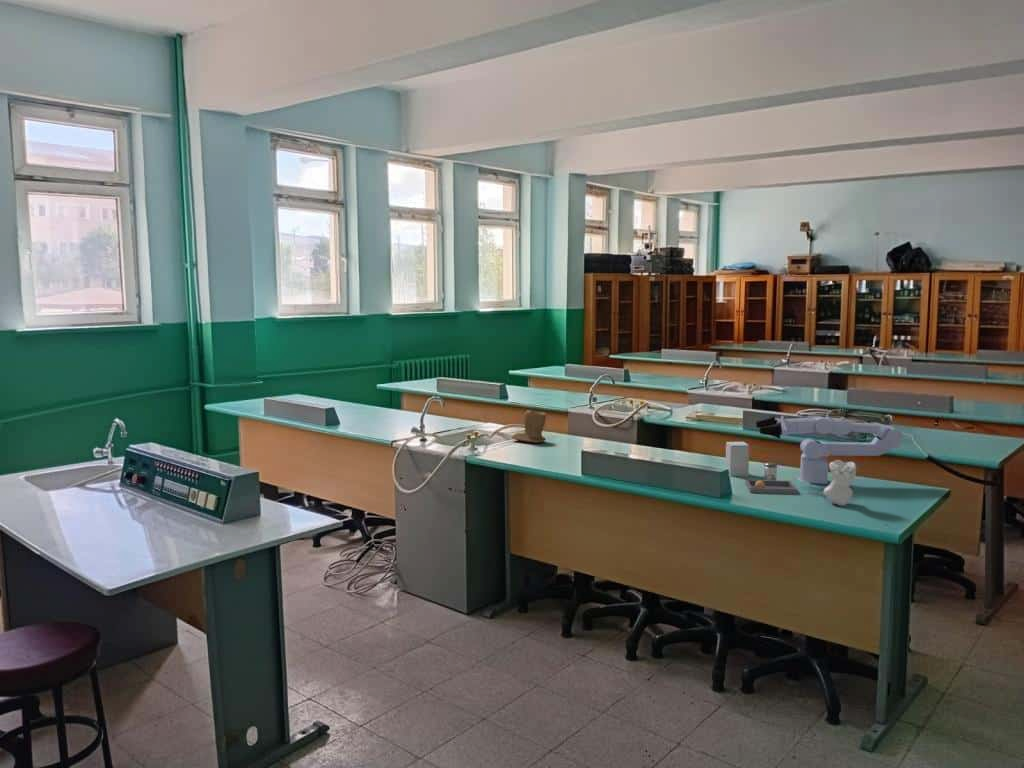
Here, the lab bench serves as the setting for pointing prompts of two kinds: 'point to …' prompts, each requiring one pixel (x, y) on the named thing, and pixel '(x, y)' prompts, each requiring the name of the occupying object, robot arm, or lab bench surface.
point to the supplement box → (737, 458)
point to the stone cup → (532, 427)
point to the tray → (772, 487)
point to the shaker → (770, 471)
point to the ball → (760, 484)
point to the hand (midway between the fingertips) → (758, 427)
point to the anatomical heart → (841, 482)
